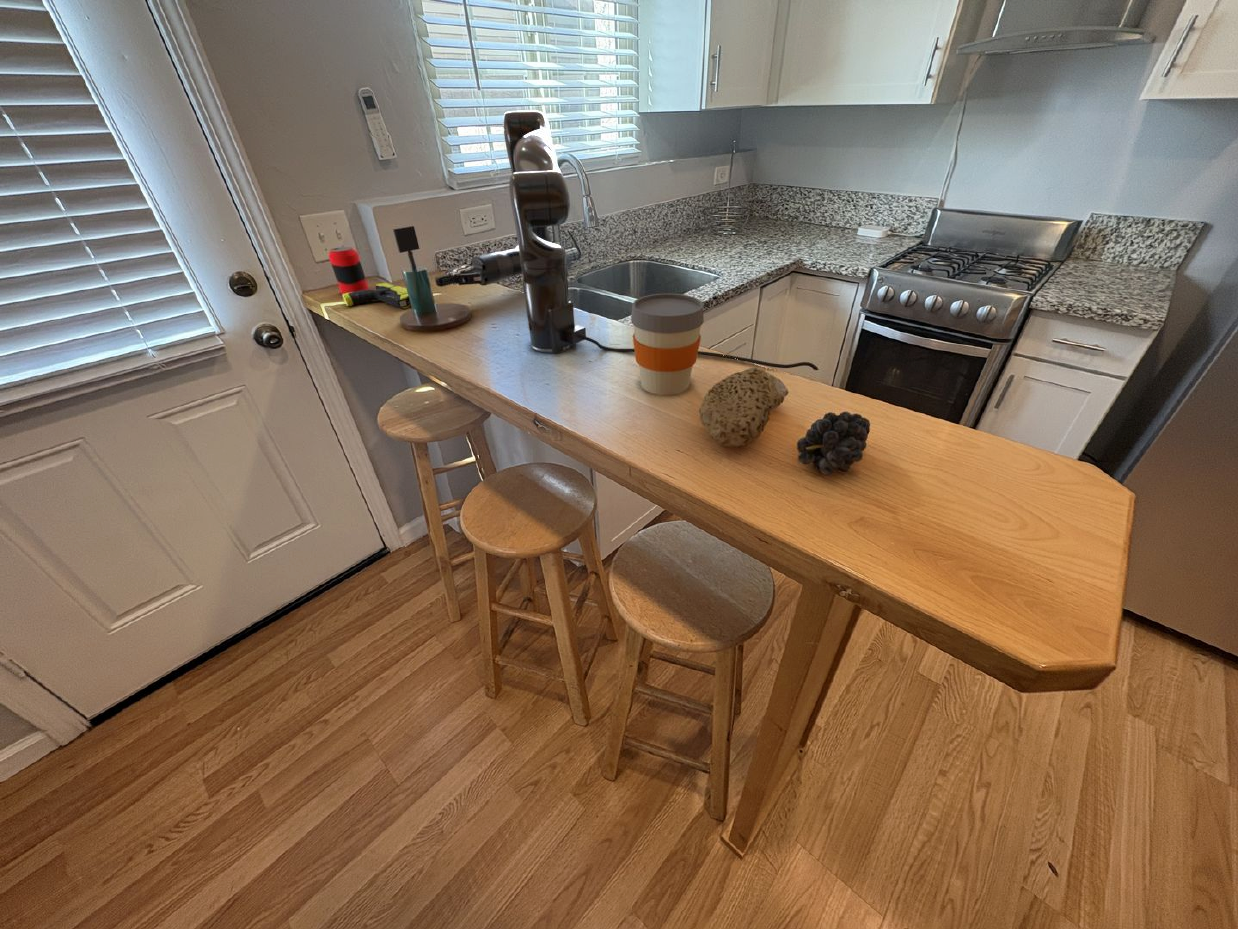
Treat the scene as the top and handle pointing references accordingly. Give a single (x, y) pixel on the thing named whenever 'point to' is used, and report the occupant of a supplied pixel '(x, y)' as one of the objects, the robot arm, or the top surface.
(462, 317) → the teal post stand
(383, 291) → the stun gun
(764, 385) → the sponge
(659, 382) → the reusable coffee cup
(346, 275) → the soda can
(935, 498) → the top surface
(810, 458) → the fruit
